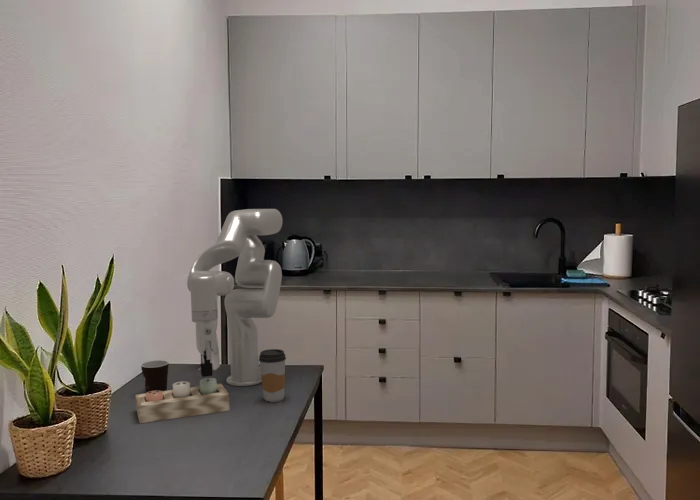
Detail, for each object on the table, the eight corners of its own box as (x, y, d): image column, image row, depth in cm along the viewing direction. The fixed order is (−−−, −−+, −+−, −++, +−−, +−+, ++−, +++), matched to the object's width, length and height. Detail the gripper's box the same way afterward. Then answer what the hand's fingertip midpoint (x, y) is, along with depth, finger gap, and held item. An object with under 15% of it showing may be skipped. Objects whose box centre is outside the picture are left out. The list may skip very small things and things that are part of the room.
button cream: (189, 396, 225) (188, 379, 224) (191, 401, 220) (190, 384, 220) (172, 398, 223) (171, 382, 223) (174, 403, 218) (173, 386, 218)
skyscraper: (225, 365, 272) (221, 291, 269) (218, 372, 264) (215, 294, 261) (202, 365, 273) (198, 291, 270) (196, 372, 265) (191, 295, 262)
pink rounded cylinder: (162, 405, 222) (161, 388, 222) (164, 410, 218) (163, 393, 217) (145, 408, 221) (144, 391, 220) (147, 413, 216) (146, 395, 215)
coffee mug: (166, 397, 235) (164, 367, 234) (139, 398, 235) (137, 367, 234) (175, 386, 246) (173, 357, 245) (149, 387, 247) (148, 358, 246)
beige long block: (222, 399, 232) (221, 383, 232) (229, 410, 221) (228, 394, 220) (136, 410, 223) (135, 394, 223) (139, 423, 212) (138, 406, 211)
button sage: (215, 393, 228) (214, 376, 227) (218, 397, 223) (217, 380, 222) (199, 395, 226) (198, 378, 225) (201, 399, 221) (201, 383, 221)
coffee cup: (289, 394, 234) (287, 348, 233) (284, 403, 226) (282, 355, 224) (263, 394, 235) (261, 348, 234) (258, 403, 227) (255, 355, 225)
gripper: (221, 318, 216) (223, 380, 217) (212, 310, 230) (214, 368, 231) (195, 321, 213) (198, 383, 215) (188, 312, 227) (190, 371, 229)
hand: (206, 375), depth 223 cm, fingers closed
